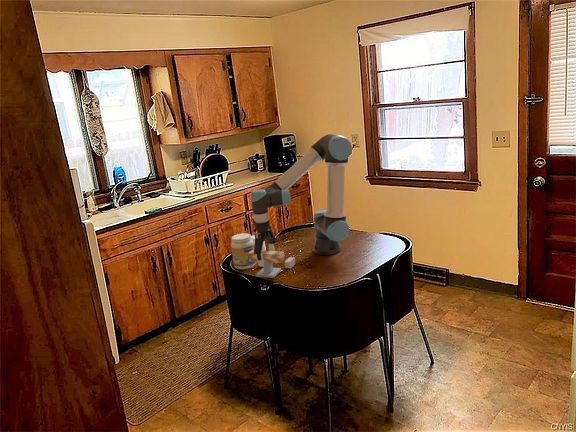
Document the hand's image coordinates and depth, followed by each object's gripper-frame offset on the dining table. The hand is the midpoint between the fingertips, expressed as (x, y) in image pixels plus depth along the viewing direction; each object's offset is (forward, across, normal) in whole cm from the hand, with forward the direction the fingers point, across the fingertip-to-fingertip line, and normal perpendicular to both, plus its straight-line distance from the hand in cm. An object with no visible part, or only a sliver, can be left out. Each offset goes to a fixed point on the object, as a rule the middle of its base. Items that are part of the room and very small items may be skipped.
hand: (267, 260), depth 236 cm
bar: (0, 0, 0) cm, 0 cm away
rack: (+7, -11, 0) cm, 13 cm away
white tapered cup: (+7, -22, -16) cm, 28 cm away
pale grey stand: (+7, 0, 0) cm, 7 cm away
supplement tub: (+7, -8, -18) cm, 21 cm away
